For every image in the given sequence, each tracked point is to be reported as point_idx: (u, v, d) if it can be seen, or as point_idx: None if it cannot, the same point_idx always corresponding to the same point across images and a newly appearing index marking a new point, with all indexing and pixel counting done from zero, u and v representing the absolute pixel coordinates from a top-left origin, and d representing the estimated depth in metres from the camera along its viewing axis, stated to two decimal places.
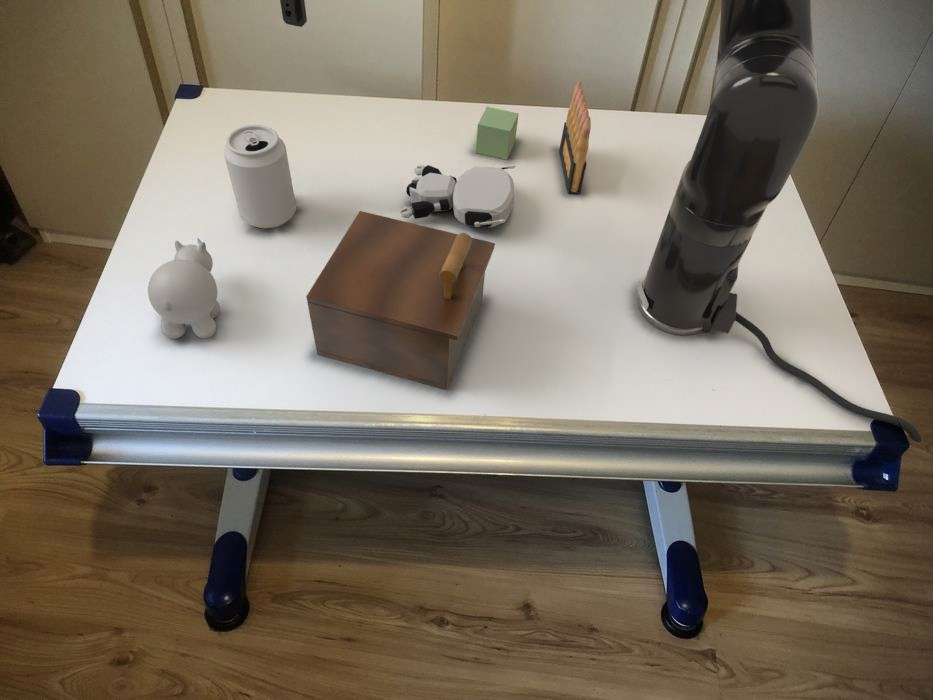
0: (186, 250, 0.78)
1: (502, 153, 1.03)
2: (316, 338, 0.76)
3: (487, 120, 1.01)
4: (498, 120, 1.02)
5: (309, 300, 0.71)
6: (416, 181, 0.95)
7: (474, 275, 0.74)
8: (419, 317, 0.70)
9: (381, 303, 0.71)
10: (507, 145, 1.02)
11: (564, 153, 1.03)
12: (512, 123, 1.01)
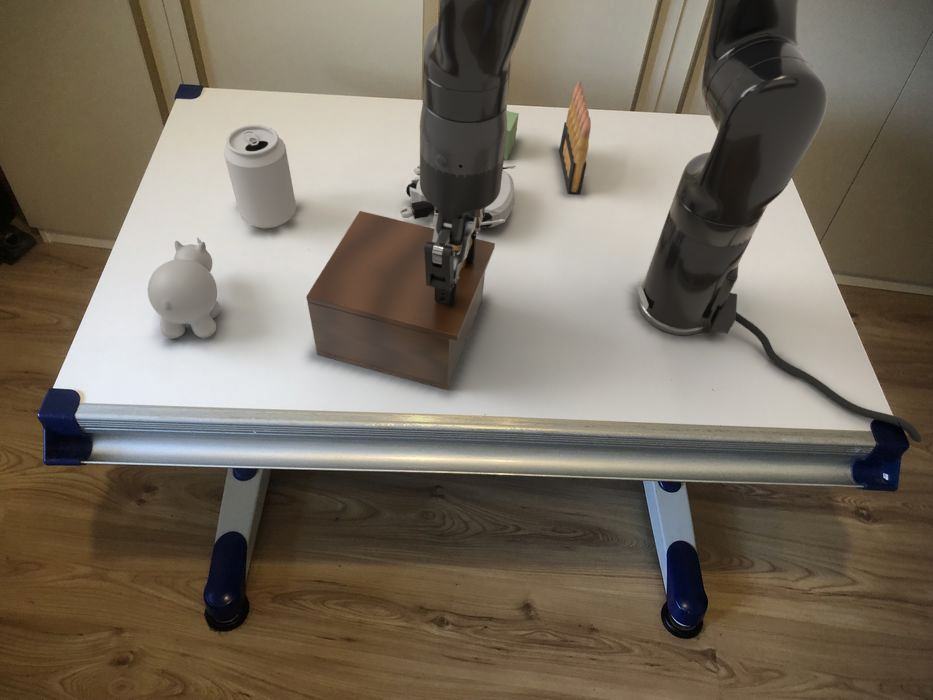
0: (186, 250, 0.78)
1: None
2: (316, 338, 0.76)
3: None
4: None
5: (309, 300, 0.71)
6: (416, 181, 0.95)
7: (474, 275, 0.74)
8: (419, 317, 0.70)
9: (381, 303, 0.71)
10: (507, 145, 1.02)
11: (564, 153, 1.03)
12: (512, 123, 1.01)
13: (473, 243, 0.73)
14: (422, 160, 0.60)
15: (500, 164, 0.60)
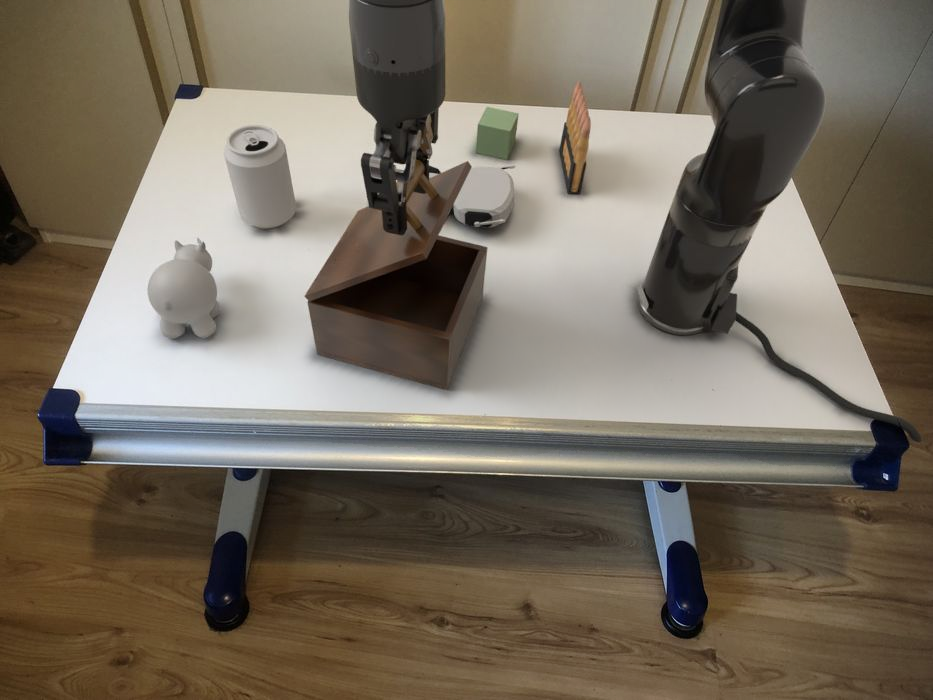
0: (186, 250, 0.78)
1: (502, 153, 1.03)
2: (316, 338, 0.76)
3: (487, 120, 1.01)
4: (498, 120, 1.02)
5: (309, 299, 0.71)
6: None
7: (445, 196, 0.67)
8: (390, 257, 0.65)
9: (361, 266, 0.68)
10: (507, 145, 1.02)
11: (564, 153, 1.03)
12: (512, 123, 1.01)
13: (425, 168, 0.67)
14: (354, 61, 0.55)
15: (440, 63, 0.55)
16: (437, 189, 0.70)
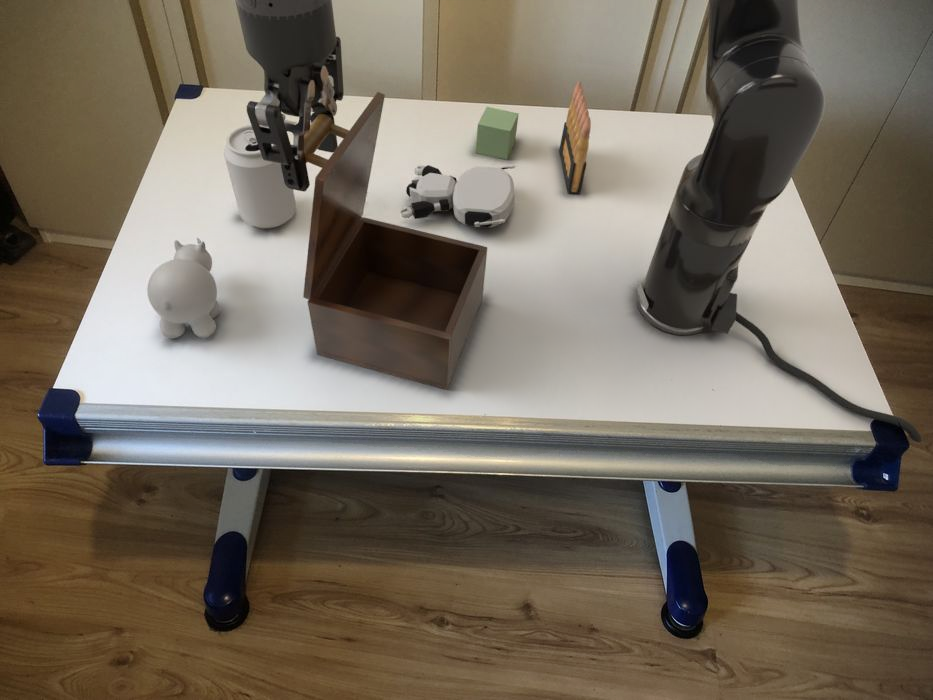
0: (186, 250, 0.78)
1: (502, 153, 1.03)
2: (316, 338, 0.76)
3: (487, 120, 1.01)
4: (498, 120, 1.02)
5: (307, 297, 0.71)
6: (416, 181, 0.95)
7: None
8: None
9: None
10: (507, 145, 1.02)
11: (564, 153, 1.03)
12: (512, 123, 1.01)
13: None
14: None
15: (323, 8, 0.54)
16: None
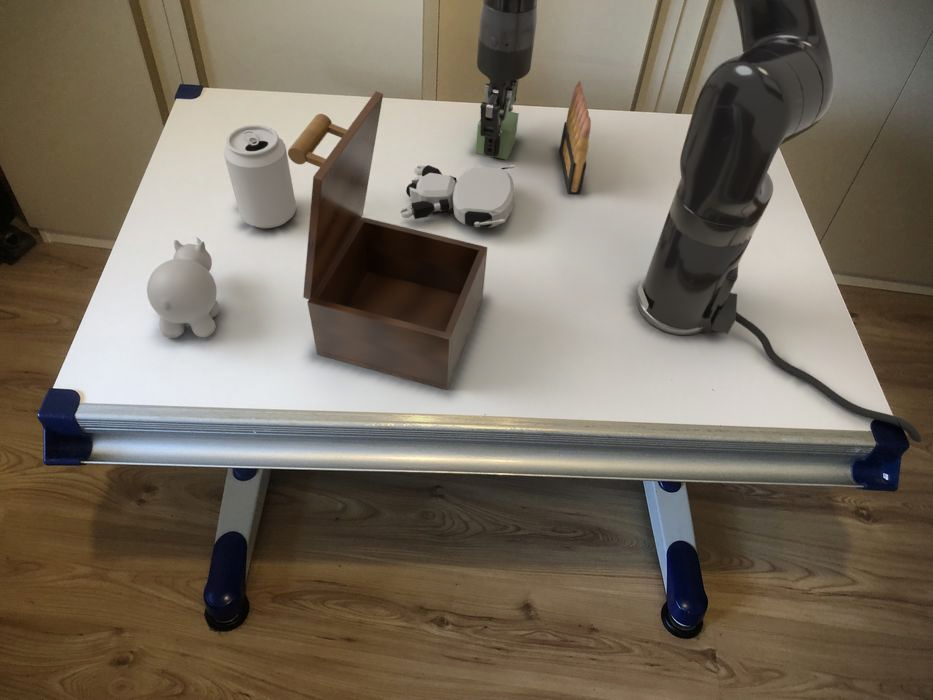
0: (185, 249, 0.78)
1: (502, 153, 1.03)
2: (316, 338, 0.76)
3: None
4: None
5: (307, 297, 0.71)
6: (416, 181, 0.95)
7: None
8: None
9: None
10: (507, 145, 1.02)
11: (564, 153, 1.03)
12: (512, 123, 1.01)
13: None
14: (480, 44, 0.92)
15: (531, 46, 0.92)
16: None
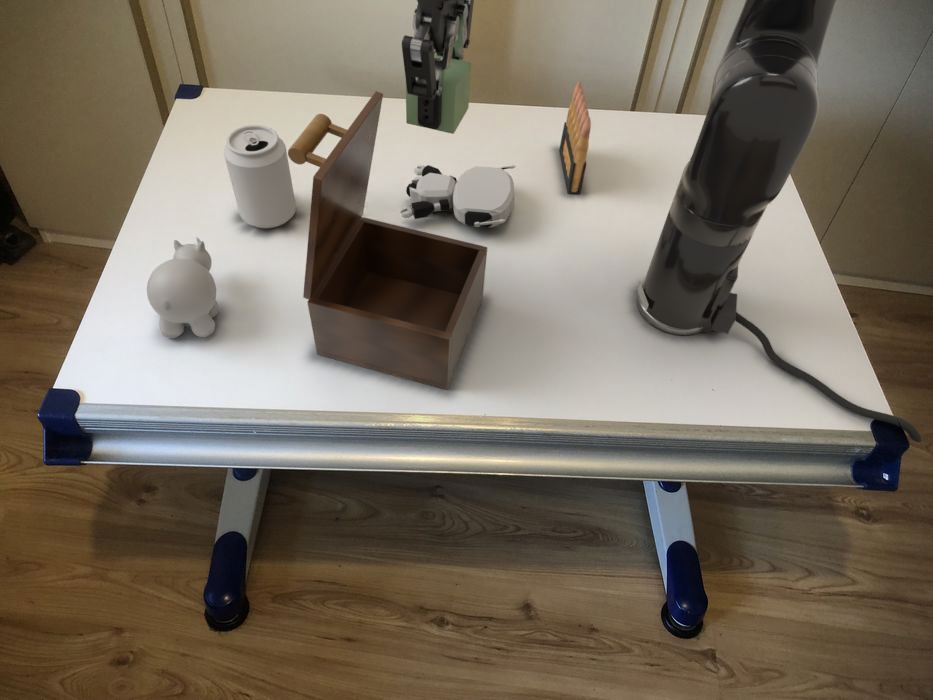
0: (185, 249, 0.78)
1: (445, 123, 0.67)
2: (316, 338, 0.76)
3: None
4: None
5: (307, 297, 0.71)
6: (416, 181, 0.95)
7: None
8: None
9: None
10: (452, 111, 0.66)
11: (564, 153, 1.03)
12: (460, 76, 0.65)
13: None
14: None
15: None
16: None
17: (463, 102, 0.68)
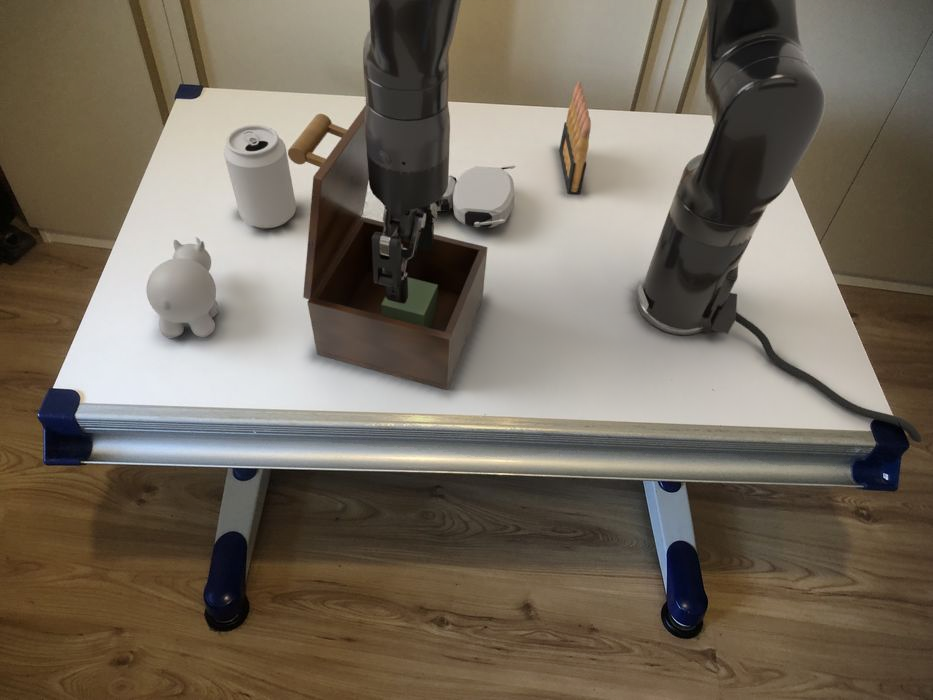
0: (185, 249, 0.78)
1: None
2: (316, 338, 0.76)
3: None
4: (409, 297, 0.77)
5: (307, 297, 0.71)
6: None
7: None
8: None
9: None
10: None
11: (564, 153, 1.03)
12: (427, 302, 0.77)
13: (431, 230, 0.74)
14: (368, 158, 0.61)
15: (444, 161, 0.61)
16: None
17: (431, 316, 0.80)
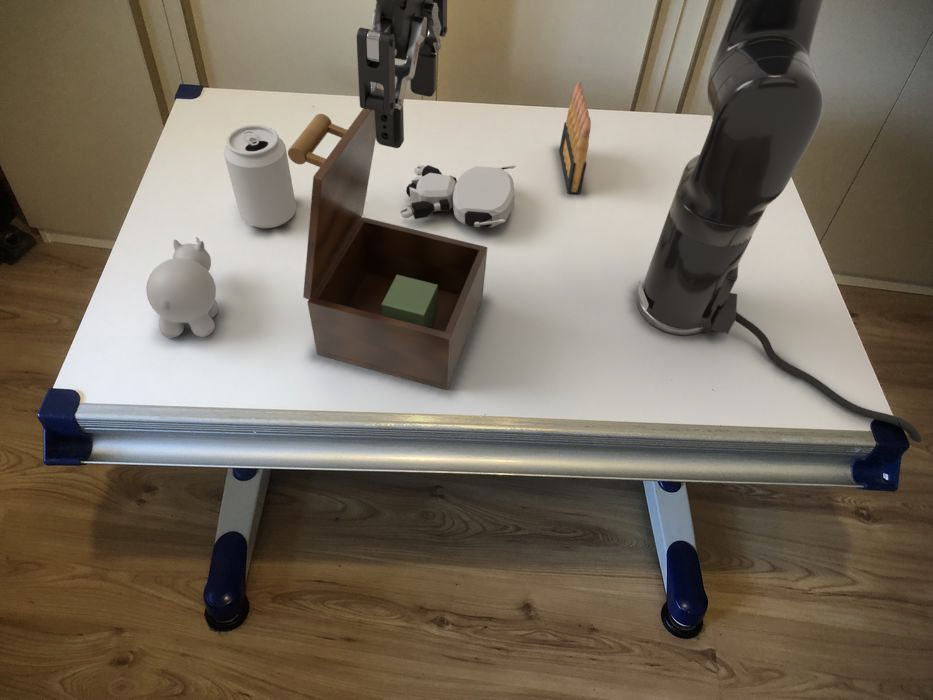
0: (184, 249, 0.78)
1: None
2: (316, 338, 0.76)
3: (394, 297, 0.77)
4: (409, 297, 0.77)
5: (307, 297, 0.71)
6: (416, 181, 0.95)
7: None
8: None
9: None
10: None
11: (564, 153, 1.03)
12: (427, 302, 0.77)
13: (433, 64, 0.60)
14: None
15: None
16: None
17: (431, 316, 0.80)
